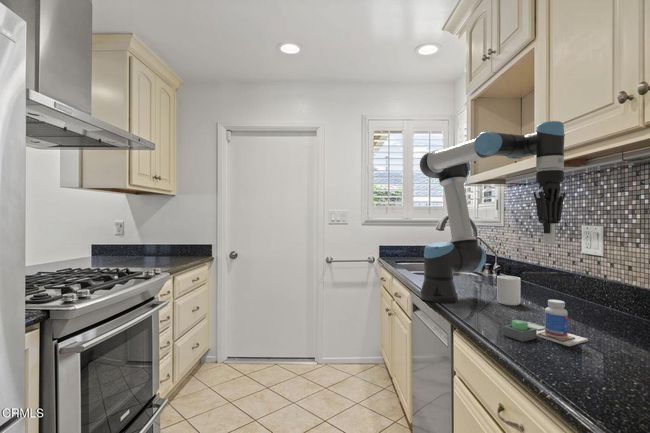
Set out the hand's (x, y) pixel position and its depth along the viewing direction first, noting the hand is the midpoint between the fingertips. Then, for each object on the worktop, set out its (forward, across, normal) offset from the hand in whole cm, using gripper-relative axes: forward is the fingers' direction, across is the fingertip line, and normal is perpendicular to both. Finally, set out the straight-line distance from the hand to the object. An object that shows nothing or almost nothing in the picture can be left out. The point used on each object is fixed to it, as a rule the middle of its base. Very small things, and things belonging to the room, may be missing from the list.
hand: (549, 243), depth 111 cm
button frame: (+26, -20, -4) cm, 33 cm away
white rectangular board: (+26, -10, -6) cm, 29 cm away
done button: (+25, -20, -4) cm, 32 cm away
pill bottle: (+25, -12, -10) cm, 29 cm away
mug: (+26, +13, +25) cm, 38 cm away
